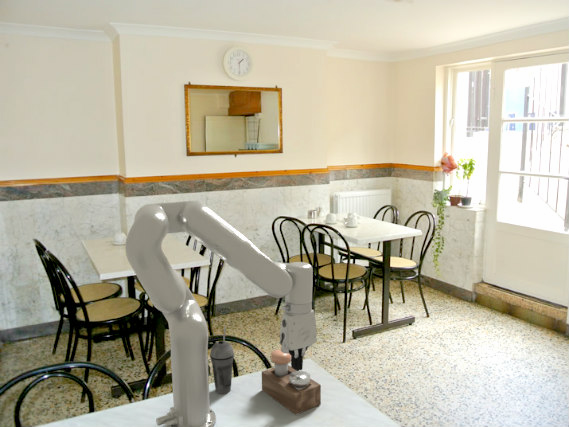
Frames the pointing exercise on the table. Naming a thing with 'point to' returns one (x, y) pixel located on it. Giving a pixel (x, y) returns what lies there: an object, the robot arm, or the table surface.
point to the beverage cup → (222, 365)
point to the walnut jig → (291, 391)
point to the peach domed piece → (280, 362)
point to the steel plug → (299, 379)
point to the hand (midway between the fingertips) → (296, 368)
